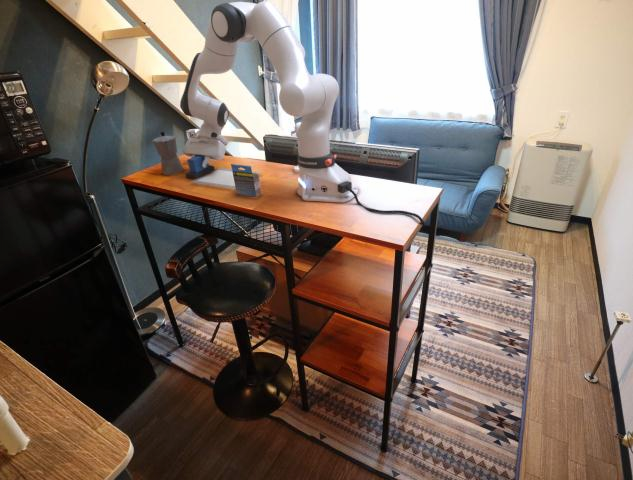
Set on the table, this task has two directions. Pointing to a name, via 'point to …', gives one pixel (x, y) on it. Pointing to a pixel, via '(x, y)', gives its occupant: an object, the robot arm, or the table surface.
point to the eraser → (198, 167)
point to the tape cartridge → (246, 181)
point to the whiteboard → (219, 178)
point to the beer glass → (192, 133)
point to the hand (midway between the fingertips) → (198, 166)
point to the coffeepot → (168, 154)
